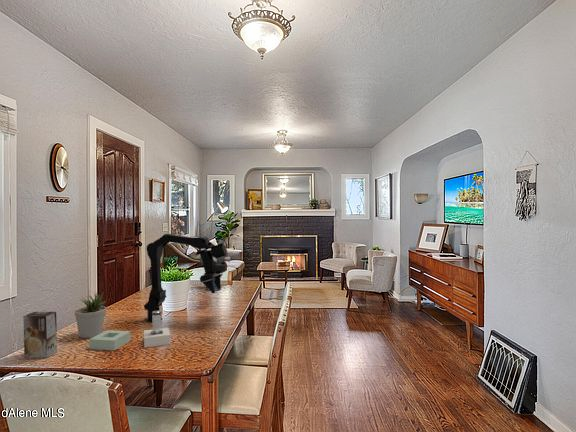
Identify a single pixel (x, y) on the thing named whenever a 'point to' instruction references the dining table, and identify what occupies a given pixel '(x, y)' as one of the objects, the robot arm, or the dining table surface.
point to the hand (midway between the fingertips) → (216, 291)
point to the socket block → (156, 338)
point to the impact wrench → (218, 261)
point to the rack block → (109, 340)
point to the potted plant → (90, 317)
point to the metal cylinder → (156, 322)
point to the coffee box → (40, 334)
